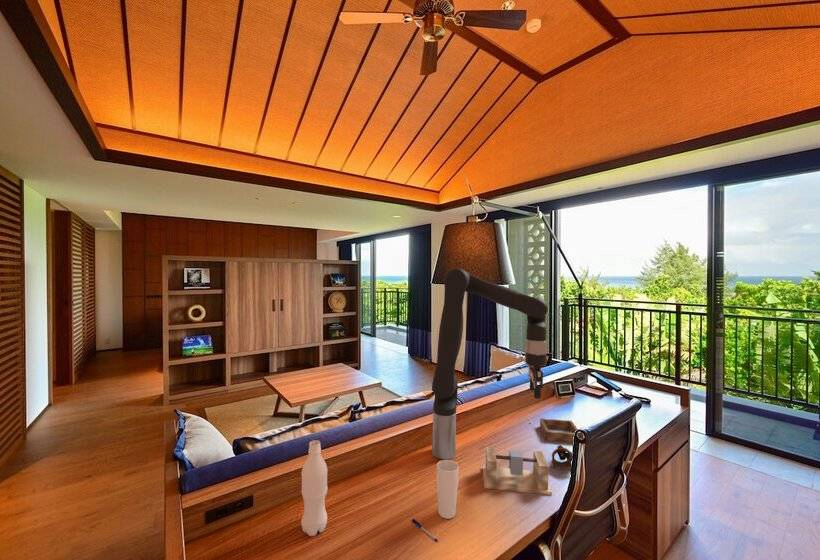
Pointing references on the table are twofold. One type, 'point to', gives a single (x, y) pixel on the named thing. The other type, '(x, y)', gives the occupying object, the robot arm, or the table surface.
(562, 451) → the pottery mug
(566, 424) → the open wooden frame
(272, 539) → the table surface
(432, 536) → the ballpoint pen
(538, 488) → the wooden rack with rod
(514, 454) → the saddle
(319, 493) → the water bottle
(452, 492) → the drinking glass
